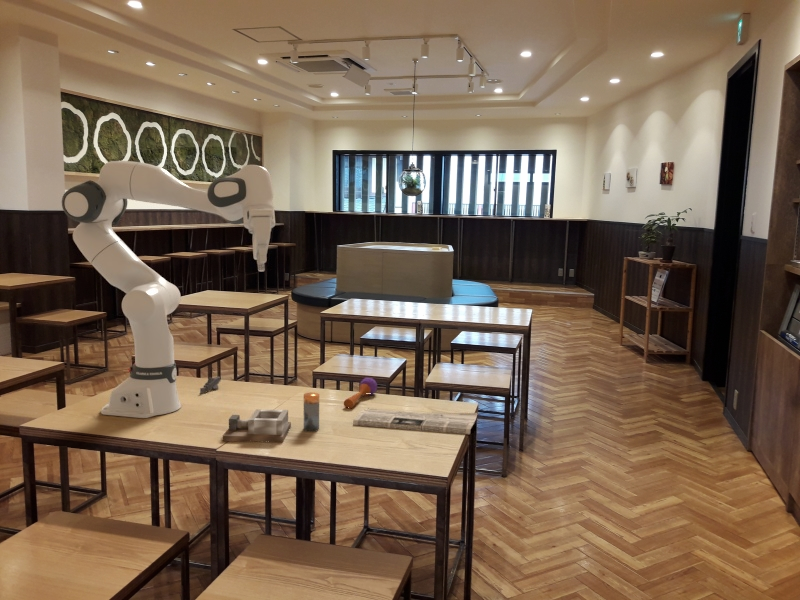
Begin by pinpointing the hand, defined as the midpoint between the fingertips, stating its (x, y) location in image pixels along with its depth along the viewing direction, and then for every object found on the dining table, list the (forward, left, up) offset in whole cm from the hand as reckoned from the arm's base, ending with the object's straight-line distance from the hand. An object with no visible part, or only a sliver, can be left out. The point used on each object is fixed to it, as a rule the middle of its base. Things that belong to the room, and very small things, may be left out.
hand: (262, 266), depth 170 cm
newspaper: (+45, +2, -46) cm, 64 cm away
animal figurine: (-25, +32, -46) cm, 61 cm away
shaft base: (+1, -10, -45) cm, 47 cm away
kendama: (+27, +24, -46) cm, 58 cm away
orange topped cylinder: (+15, -5, -45) cm, 48 cm away
